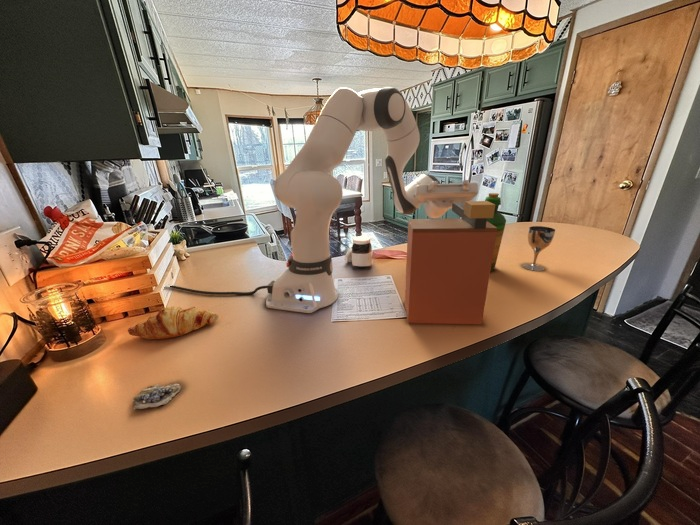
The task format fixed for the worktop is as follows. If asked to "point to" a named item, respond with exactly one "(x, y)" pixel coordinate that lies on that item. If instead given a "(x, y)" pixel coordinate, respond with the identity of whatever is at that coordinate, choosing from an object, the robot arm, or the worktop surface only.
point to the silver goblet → (539, 243)
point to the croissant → (173, 323)
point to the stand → (447, 270)
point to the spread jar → (360, 253)
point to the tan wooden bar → (474, 212)
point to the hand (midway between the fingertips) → (451, 182)
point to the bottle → (496, 225)
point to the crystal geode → (156, 396)
